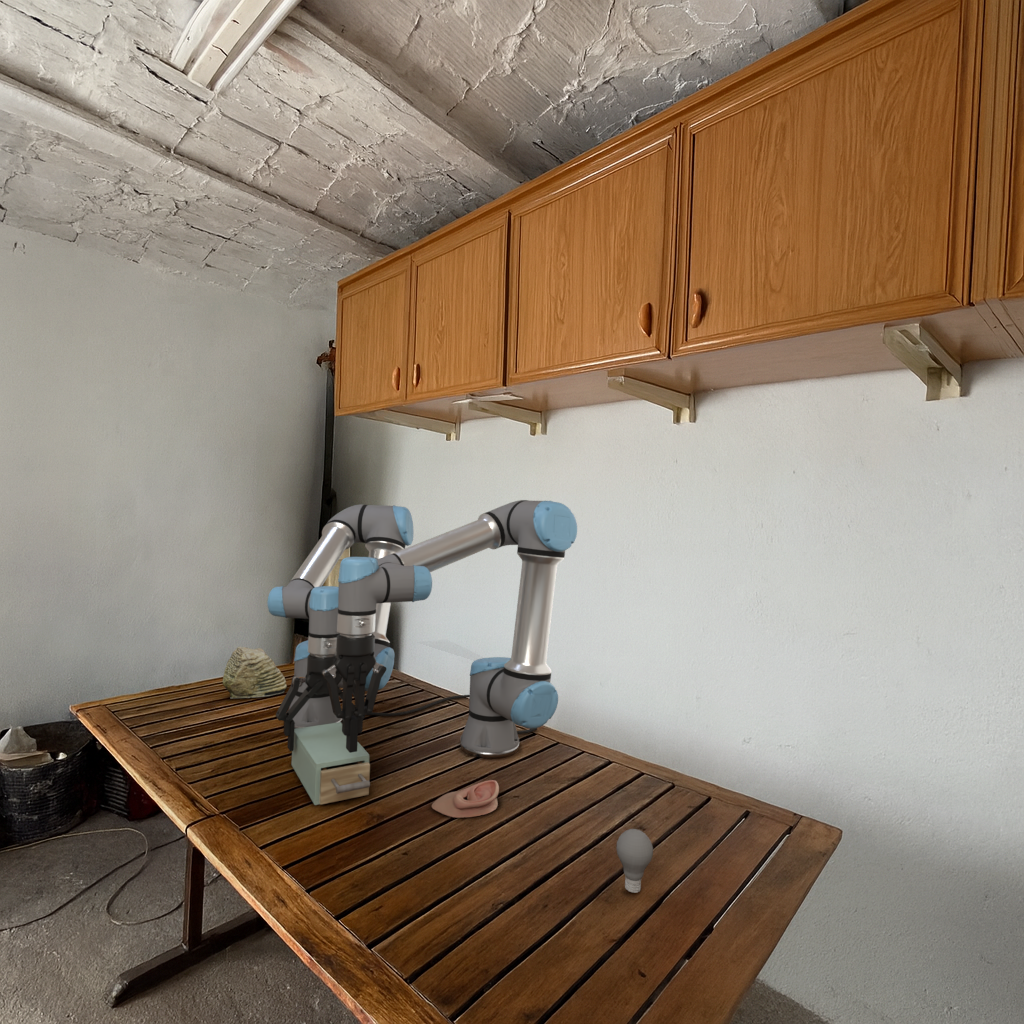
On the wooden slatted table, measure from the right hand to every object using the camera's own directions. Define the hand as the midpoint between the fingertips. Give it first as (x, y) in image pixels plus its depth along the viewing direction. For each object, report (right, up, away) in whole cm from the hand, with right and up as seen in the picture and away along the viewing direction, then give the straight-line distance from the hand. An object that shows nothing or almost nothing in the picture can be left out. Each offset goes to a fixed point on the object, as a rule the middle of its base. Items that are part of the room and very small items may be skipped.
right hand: (351, 749), depth 128 cm
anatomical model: (+23, -13, +4) cm, 27 cm away
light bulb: (+53, -15, -23) cm, 59 cm away
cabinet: (-9, -12, +14) cm, 20 cm away
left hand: (-12, -6, +19) cm, 24 cm away
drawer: (-6, -11, +9) cm, 15 cm away
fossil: (-48, -9, +70) cm, 85 cm away
